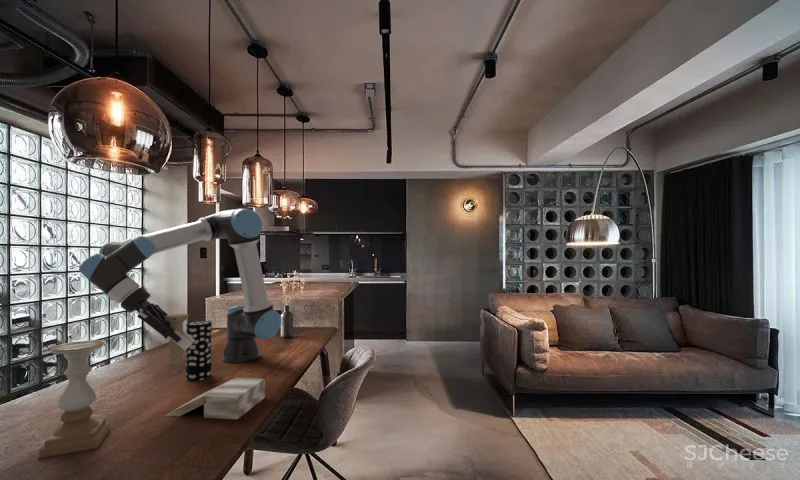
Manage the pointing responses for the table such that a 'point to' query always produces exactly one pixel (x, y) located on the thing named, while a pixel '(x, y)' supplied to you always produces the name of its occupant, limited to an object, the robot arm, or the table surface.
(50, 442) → the candle holder
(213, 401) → the ramp bench
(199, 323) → the white-spotted black cylinder
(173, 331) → the robot arm
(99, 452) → the table surface
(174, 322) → the handle
